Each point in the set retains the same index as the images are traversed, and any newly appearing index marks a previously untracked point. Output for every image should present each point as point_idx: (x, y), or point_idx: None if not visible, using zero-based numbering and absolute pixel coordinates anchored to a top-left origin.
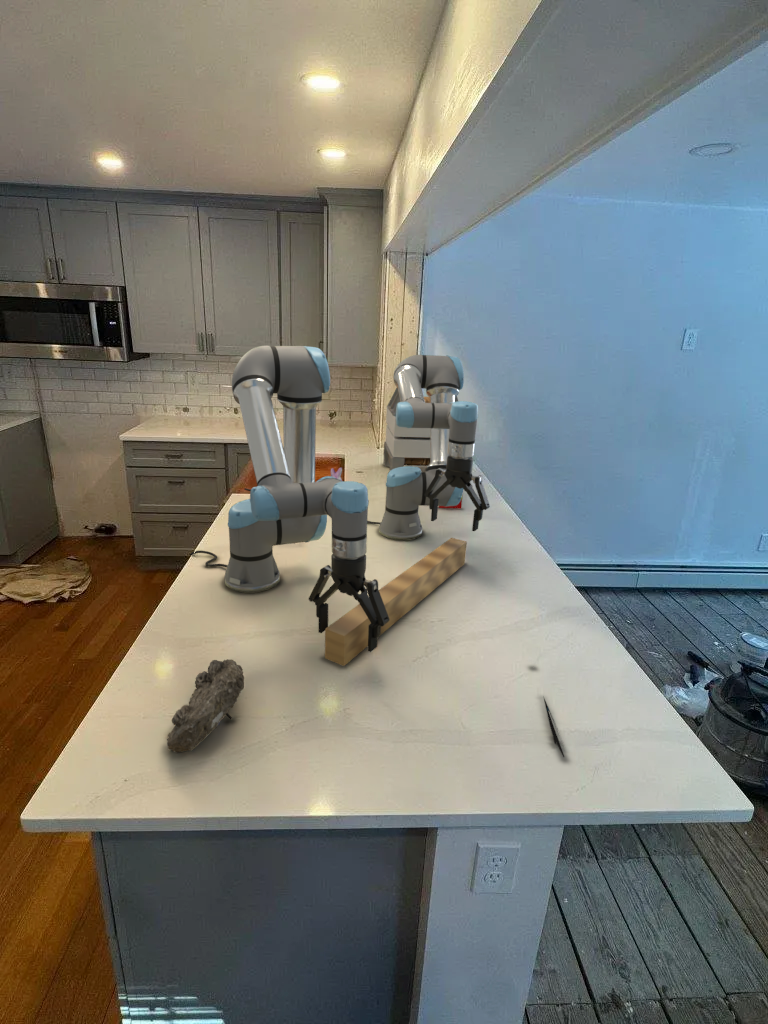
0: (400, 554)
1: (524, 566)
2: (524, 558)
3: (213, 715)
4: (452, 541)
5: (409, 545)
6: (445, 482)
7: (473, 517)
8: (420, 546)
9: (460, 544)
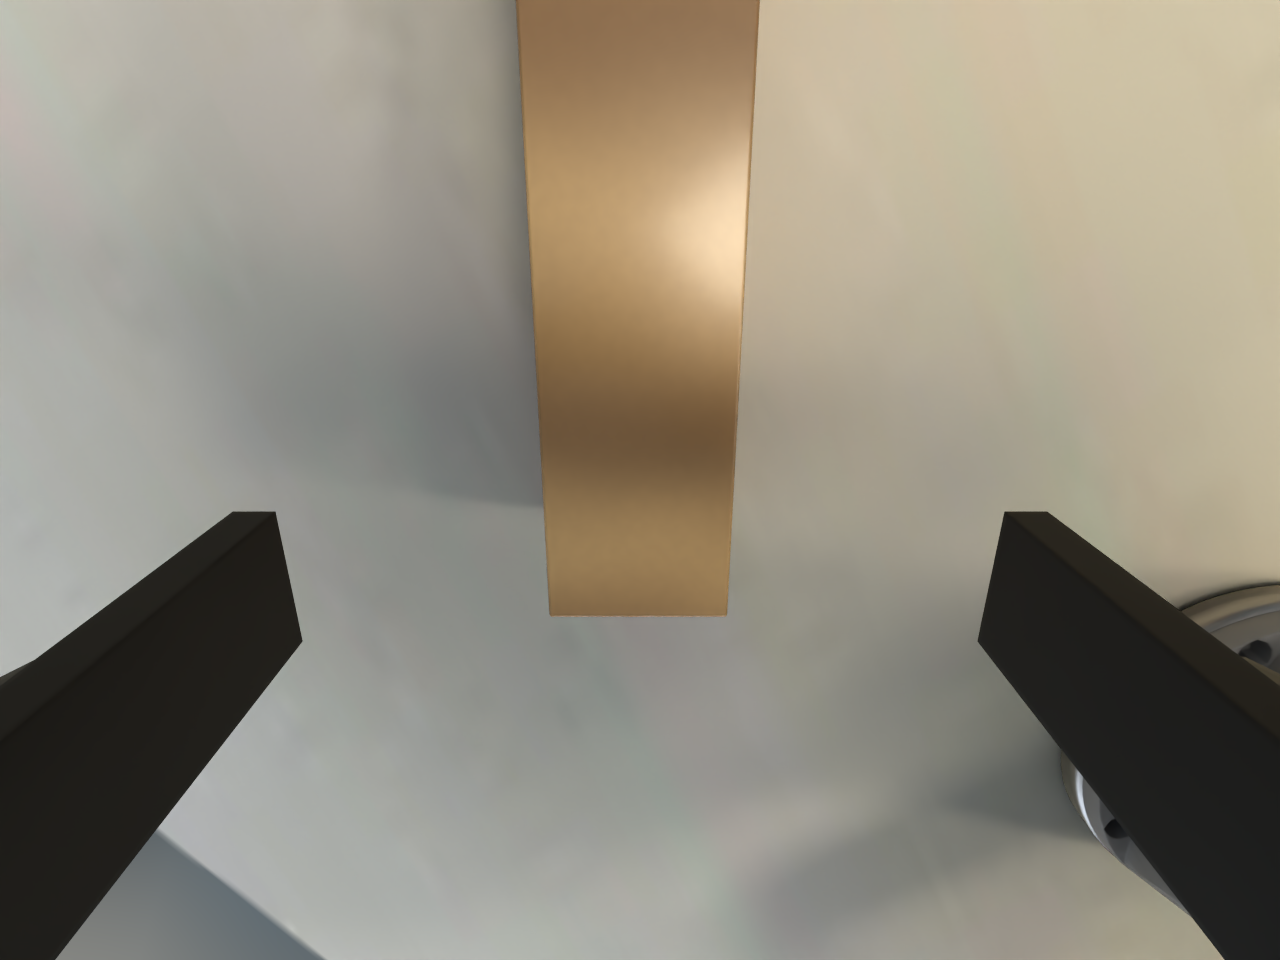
0: (1109, 367)
1: None
2: (290, 811)
3: None
4: (672, 530)
5: None
6: None
7: (104, 656)
8: None
9: (566, 510)
